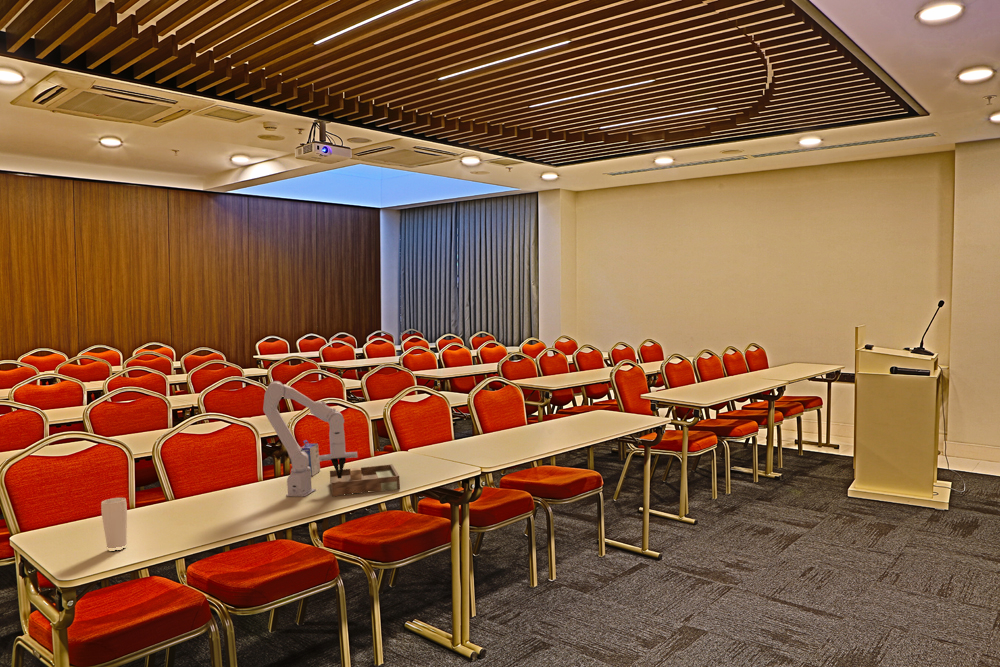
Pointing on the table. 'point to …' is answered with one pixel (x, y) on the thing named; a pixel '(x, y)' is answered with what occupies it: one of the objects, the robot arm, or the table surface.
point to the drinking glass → (115, 521)
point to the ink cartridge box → (312, 456)
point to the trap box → (365, 480)
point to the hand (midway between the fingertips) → (339, 477)
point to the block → (355, 474)
